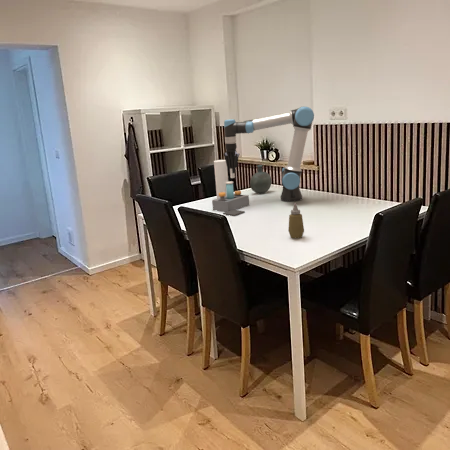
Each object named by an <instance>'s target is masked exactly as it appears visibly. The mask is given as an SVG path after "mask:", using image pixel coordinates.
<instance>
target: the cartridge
mask: <svg viewBox="0 0 450 450" xmlns="http://www.w3.org/2000/svg"><path fill="white" fill-rule="evenodd" d="M226 192H227V199H233V198H234V194H235V190H234V181H232V180H231V181H230V180H228V182H226Z"/></svg>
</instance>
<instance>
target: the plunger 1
mask: <svg viewBox="0 0 450 450" xmlns="http://www.w3.org/2000/svg"><path fill="white" fill-rule="evenodd" d="M219 196H220V201H225V196H226V193H225V192H220V193H219Z"/></svg>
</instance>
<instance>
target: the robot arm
mask: <svg viewBox="0 0 450 450" xmlns="http://www.w3.org/2000/svg"><path fill="white" fill-rule="evenodd" d="M314 118H315V113H314V111H313V109H312V108H311V107H309V106H300V107H298V108H295V109H292V110H291V109H290V110H289V112H284V113H279V114H275V115H274V114H273V115H268V116H263V117H260V118H259V117H258V118H254V119H249V120H243V121H236V119H232V118H231V119H225V120H224V121H223V128H224V143H225V153H223V157H224V160H226V165H227V169H229V174H230V179H235V177H236V169H237V168H238V163H239V156H240V153H238V152H237V148H238V147H237V135H238V134H253V133H254V131H260V130H265V129H269V128H274V127H281V126H284V125H285V126H286V125H292V128H293V129H294V131H293V135H292V141H291V146H290V151H289V156H288V161H287V165H285V166H284V167H282V170H281V175H282V176H281V177H282V179H281V184H282V190H281V194H280V201H283V202H298V201H302V200H303V195H302V191H301V189H300V184H301V175H302V172H303V171H302V170H303V169H302V168H301V164H302V161H303V155H304V151H305V146H306V141H307V139H308V138H307V136H308V132H309V131H310V130H312V125H313V121H314Z"/></svg>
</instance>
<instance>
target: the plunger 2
mask: <svg viewBox="0 0 450 450" xmlns="http://www.w3.org/2000/svg"><path fill="white" fill-rule="evenodd" d="M234 194H235V195H236V196H240V195H242V191H241V190H234Z"/></svg>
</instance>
